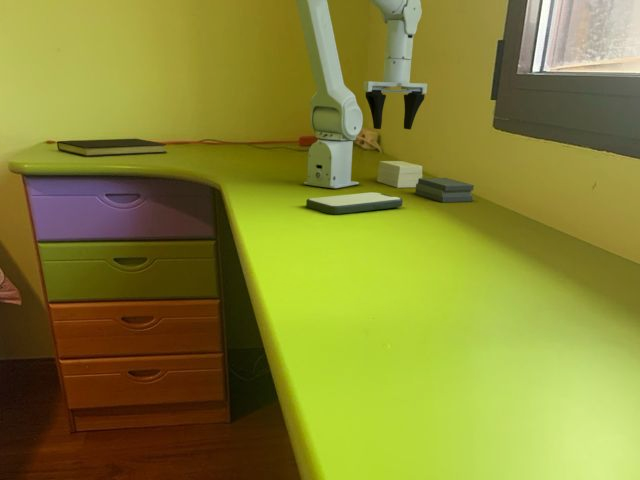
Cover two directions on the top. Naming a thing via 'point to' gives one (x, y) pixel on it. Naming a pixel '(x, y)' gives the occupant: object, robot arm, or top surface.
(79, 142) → the hardcover book
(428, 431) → the top surface
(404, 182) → the cream rectangular block
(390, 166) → the cream booklet
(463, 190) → the grey book stack
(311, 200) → the phone case
